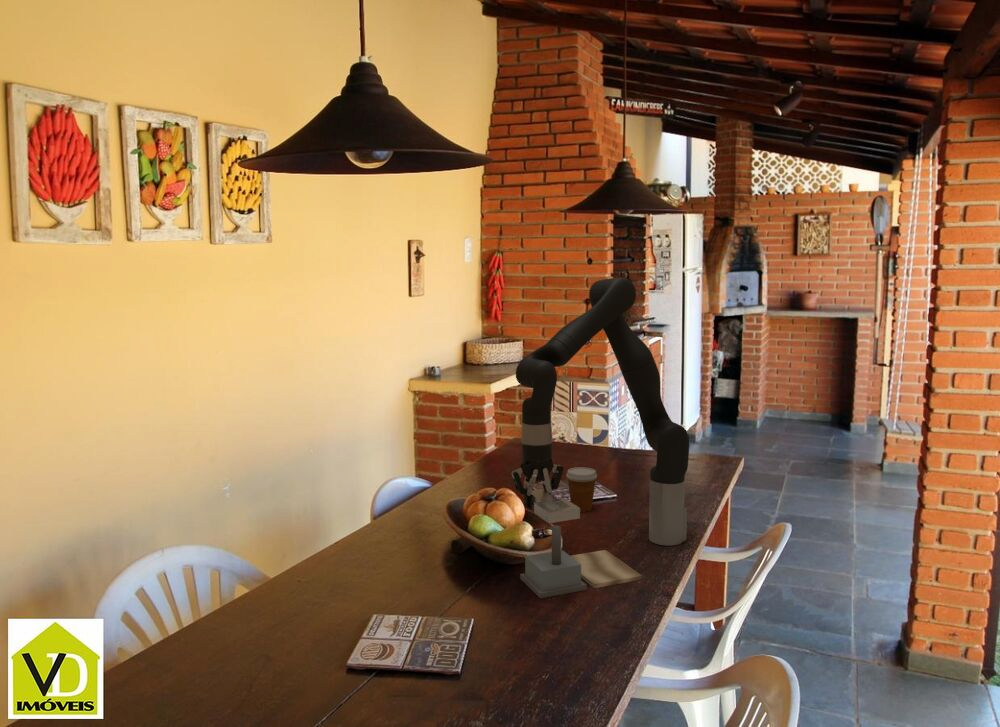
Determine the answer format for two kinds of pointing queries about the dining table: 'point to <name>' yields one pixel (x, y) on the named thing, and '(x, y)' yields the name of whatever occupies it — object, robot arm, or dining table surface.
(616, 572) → the folded beige cloth
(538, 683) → the dining table surface
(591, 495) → the disposable coffee cup
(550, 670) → the dining table surface
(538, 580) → the block with upright post
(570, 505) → the beige stepped block
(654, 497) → the robot arm
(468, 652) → the dining table surface
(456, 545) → the hand tool
